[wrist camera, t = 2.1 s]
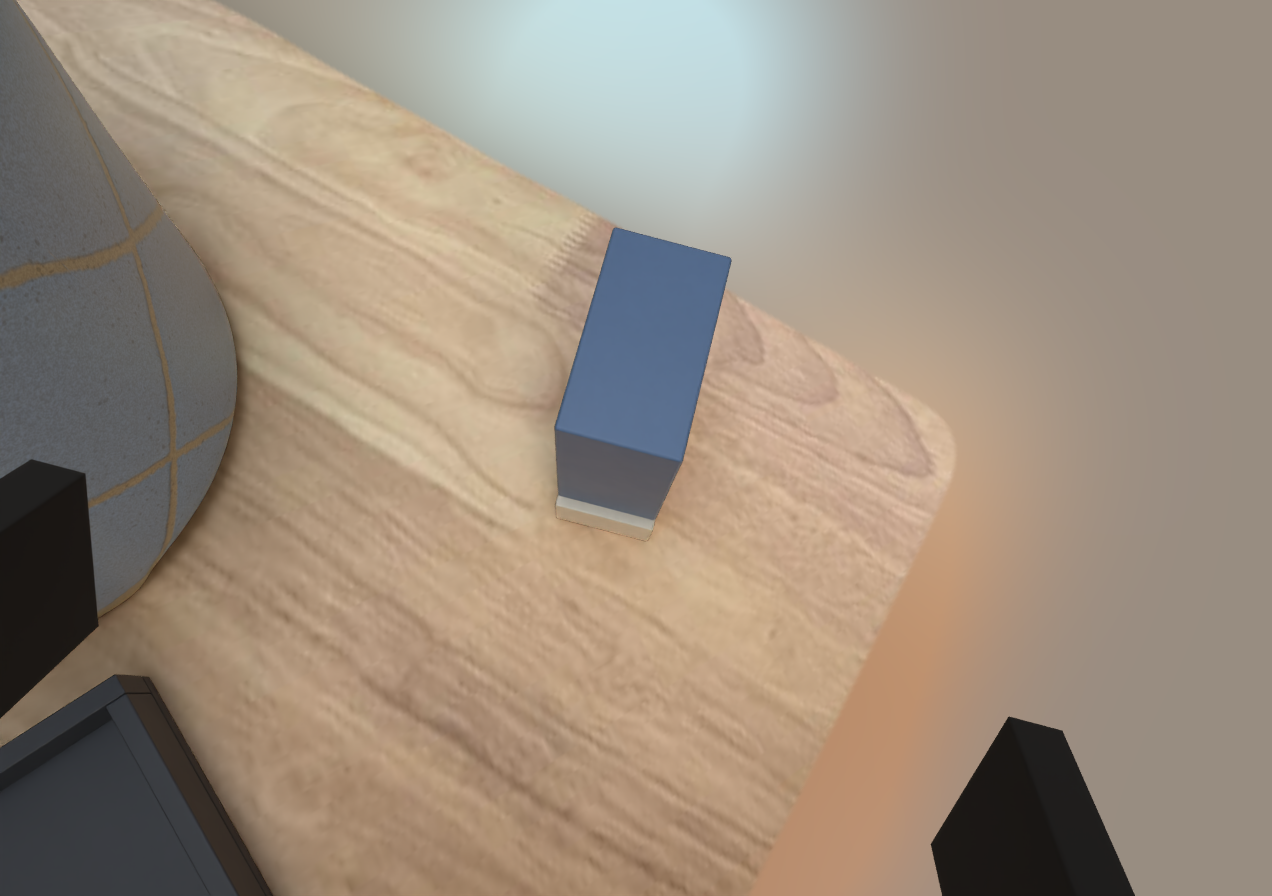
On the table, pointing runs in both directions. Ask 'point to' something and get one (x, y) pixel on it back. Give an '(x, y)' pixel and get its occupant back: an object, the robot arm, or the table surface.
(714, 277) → the eraser
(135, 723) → the tray
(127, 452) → the planter
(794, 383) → the table surface
